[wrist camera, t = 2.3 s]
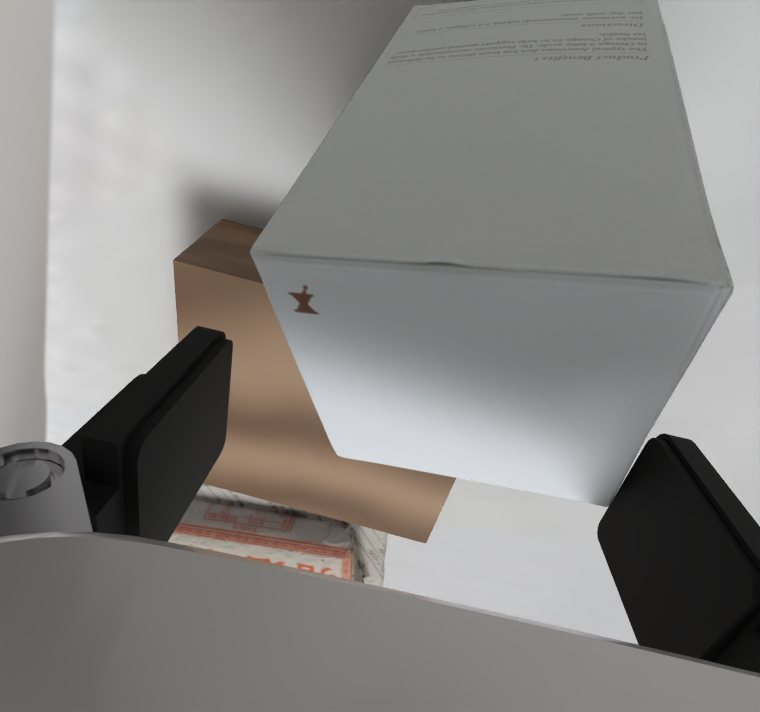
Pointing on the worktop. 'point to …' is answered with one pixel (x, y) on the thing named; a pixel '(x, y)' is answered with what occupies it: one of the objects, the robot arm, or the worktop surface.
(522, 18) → the supplement box
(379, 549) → the packaged product
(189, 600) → the robot arm
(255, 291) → the walnut block
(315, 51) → the worktop surface
